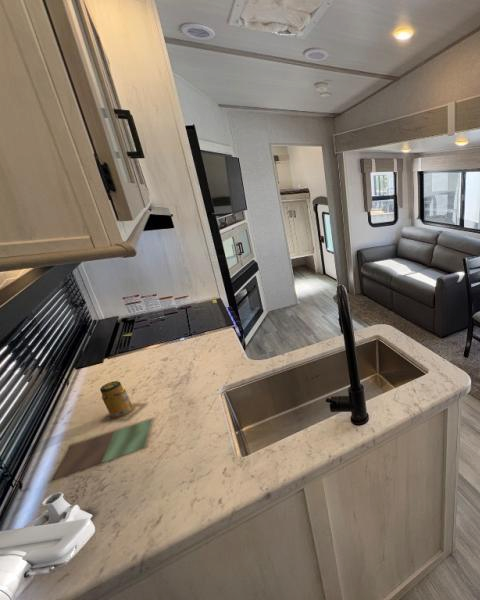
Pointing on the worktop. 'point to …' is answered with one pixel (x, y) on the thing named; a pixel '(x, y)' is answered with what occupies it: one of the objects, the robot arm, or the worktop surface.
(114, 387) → the condiment
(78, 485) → the worktop surface
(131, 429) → the sorting board
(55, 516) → the flask
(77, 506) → the robot arm
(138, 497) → the worktop surface
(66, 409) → the worktop surface
